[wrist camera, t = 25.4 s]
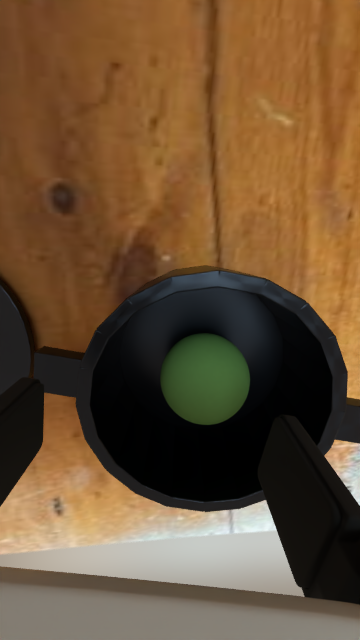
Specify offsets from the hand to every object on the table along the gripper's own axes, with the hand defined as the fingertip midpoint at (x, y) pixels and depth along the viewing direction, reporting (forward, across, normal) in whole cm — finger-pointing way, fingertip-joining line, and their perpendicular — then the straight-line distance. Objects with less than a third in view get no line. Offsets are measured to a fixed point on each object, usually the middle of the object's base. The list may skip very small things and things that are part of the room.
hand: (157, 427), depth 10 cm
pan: (+10, -3, +1) cm, 11 cm away
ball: (+7, -3, +1) cm, 7 cm away
